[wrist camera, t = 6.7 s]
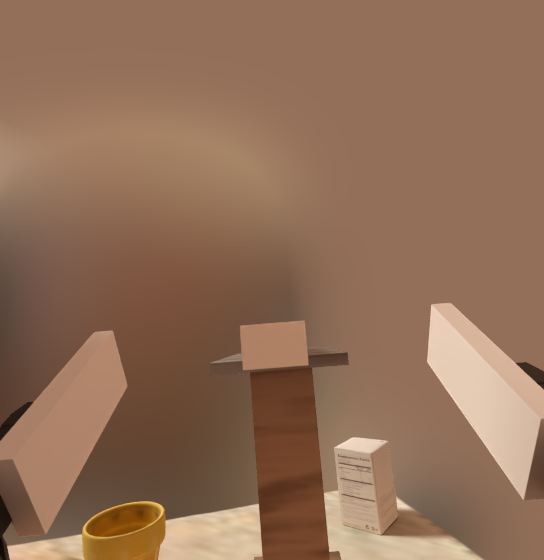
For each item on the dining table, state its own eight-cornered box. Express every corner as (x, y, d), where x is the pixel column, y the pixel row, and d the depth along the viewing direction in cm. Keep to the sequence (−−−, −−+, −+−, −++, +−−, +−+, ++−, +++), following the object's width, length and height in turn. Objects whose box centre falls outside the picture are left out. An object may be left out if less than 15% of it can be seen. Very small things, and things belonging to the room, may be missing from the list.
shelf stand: (384, 694, 34) (347, 352, 38) (227, 704, 34) (209, 363, 39) (343, 547, 58) (323, 347, 62) (250, 554, 58) (237, 353, 62)
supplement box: (360, 508, 70) (352, 436, 72) (399, 517, 66) (390, 440, 67) (340, 525, 65) (332, 446, 66) (381, 536, 60) (371, 451, 62)
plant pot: (100, 641, 43) (100, 546, 44) (71, 601, 50) (71, 521, 52) (182, 593, 50) (178, 512, 52) (145, 564, 57) (144, 495, 59)
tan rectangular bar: (308, 365, 27) (304, 320, 27) (242, 370, 27) (240, 325, 27) (294, 350, 60) (293, 330, 61) (265, 352, 60) (264, 332, 61)
